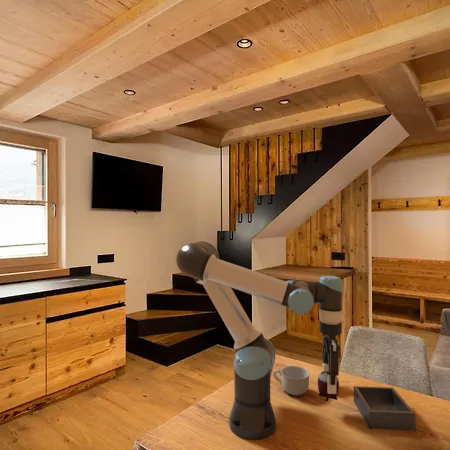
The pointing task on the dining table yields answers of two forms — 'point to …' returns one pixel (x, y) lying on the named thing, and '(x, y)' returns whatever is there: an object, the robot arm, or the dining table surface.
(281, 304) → the robot arm
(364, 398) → the tray
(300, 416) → the dining table surface
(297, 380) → the teacup
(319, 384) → the mate gourd
